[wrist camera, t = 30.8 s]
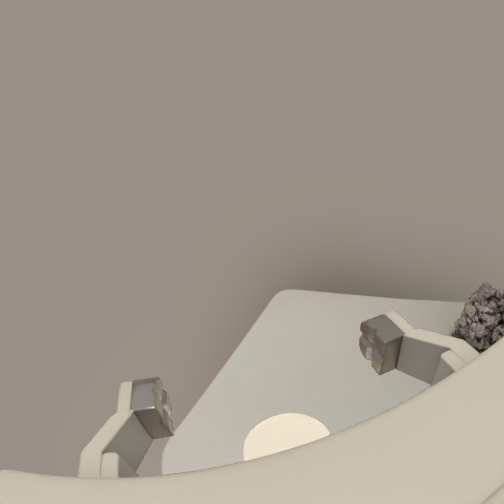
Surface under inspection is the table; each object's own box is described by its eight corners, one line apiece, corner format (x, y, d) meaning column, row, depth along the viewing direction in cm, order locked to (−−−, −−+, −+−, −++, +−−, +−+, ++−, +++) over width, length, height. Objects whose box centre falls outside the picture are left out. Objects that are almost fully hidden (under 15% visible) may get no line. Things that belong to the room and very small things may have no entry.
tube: (327, 500, 19) (339, 418, 13) (314, 539, 15) (321, 491, 10) (281, 493, 21) (260, 407, 15) (266, 530, 17) (229, 472, 11)
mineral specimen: (526, 297, 31) (520, 257, 28) (534, 349, 26) (534, 314, 22) (464, 318, 40) (448, 283, 37) (464, 368, 34) (449, 339, 31)
